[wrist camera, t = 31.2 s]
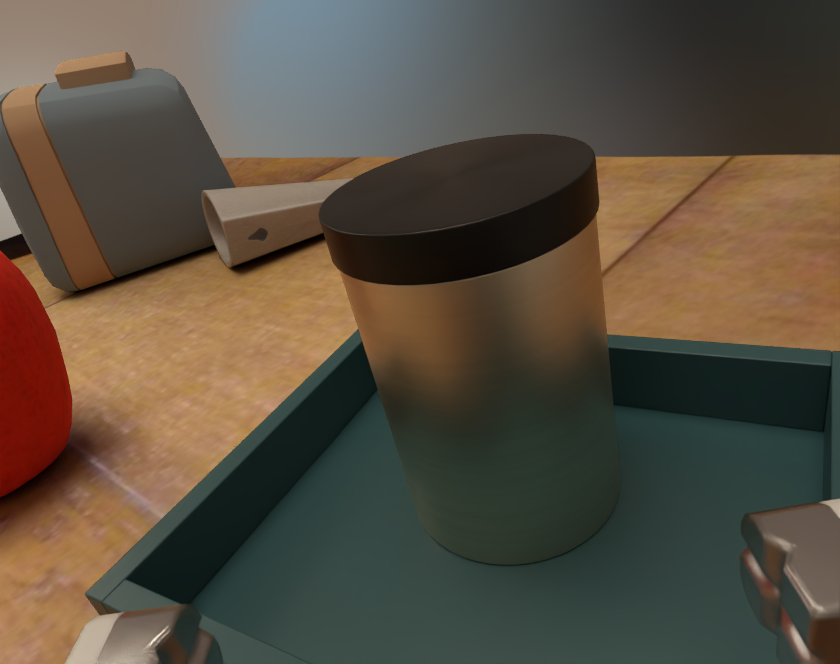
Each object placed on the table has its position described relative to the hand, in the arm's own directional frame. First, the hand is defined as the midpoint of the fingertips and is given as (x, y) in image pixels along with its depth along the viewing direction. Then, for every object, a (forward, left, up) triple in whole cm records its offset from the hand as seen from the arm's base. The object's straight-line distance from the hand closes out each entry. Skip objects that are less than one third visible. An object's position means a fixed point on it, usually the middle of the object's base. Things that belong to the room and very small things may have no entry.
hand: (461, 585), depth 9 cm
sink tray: (+3, -6, -8) cm, 10 cm away
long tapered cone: (+28, -32, -8) cm, 44 cm away
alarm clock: (+46, -28, -8) cm, 55 cm away
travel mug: (+4, -8, -7) cm, 11 cm away
